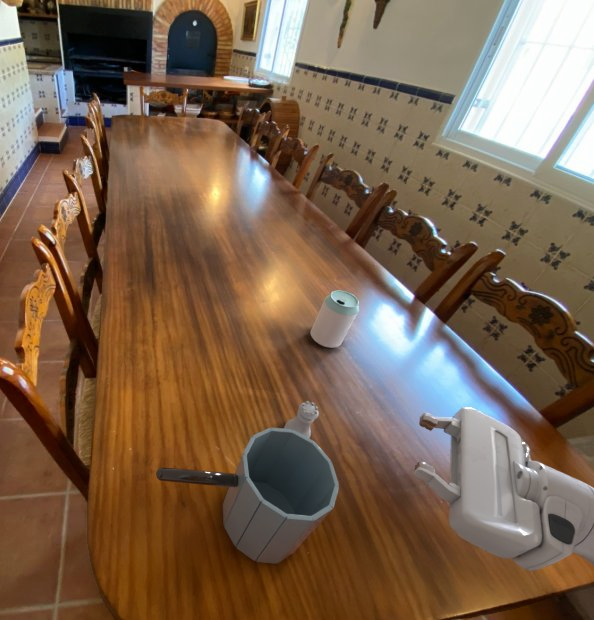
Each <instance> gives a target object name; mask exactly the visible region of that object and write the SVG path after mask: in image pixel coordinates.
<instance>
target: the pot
mask: <svg viewBox="0 0 594 620" xmlns="http://www.w3.org/2000/svg"><path fill="white" fill-rule="evenodd" d="M155 475H156V478H157V480H158V481H161V482H169V483H170V482H171V483H180V484H189V485H203V486H211V487H212V486H215V487H225V488H228V489H227V491H226V495H225V497H224V499H223V502H222V520H223V527H224V529H225V532H226V533H227V535H228V537H229V539H230V540H231V542H232V545H233V546H234V547H235V548H236V549H237V550H238V551H239V552H241V553H243V554H244V555H245V556H246V557H248V558H249V559H251V560H252V561H253V562H256V563H262V564H263V563H264V564H275V565H276V564H280V563H281V562H283V561H284V560H285V559H287V558H289V557H290V556H291V555H293V554H294V553H295V552H296V551H297V550H298V549H299V548H300V547H301V546H302V544H303V543H304V542H305V541H306V540H307V538H309V536H310V535H311V534H312V533H313V532H314V530H315V529H316V528H318V526H319V525H320V524H321V523H322V522H323V521H324V519H325V518H326V517H327V516H328V515H329V514H330V513H331V511H333V509H334V508H335V504H336V501H337V497H338V493H339V489H340V483H339V480H338V476H337V474H336V470H335V467H334V463H333V462H332V460H331V459H330V458H329V457H328V454H326V452H324V450H323V449H322V448H321V447H320V446H319V445H318V444H317V442H316V441H314V440H313V439H311V438H307V437H305V436H304V435H302V434H300V433H298V432H296V431H294V430H293V431H292V429H284V428H282V427H281V428H280V427H268V428H266V429H264V430H262V431H260V432H257V433H255V434H253V435H251V437H250V439H249V441H248V442H247V444H246V446H245V448H244V450H243V452H242V454H241V456H240V459H239V461H238V464H237V466H236V469H235V472H224V471H223V472H222V471H210V470H200V469H188V468H177V467H167V466H166V467H165V466H159V468H158V469H157V470H156V472H155Z"/></svg>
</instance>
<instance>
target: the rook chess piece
mask: <svg viewBox="0 0 594 620" xmlns="http://www.w3.org/2000/svg"><path fill="white" fill-rule="evenodd" d="M315 404H316V403H314V402H313V401H311V402H310V401H309V400H306V401H304V402H301V403H300V404H299V406H298V410H297V412H296V416H295V417H293V418H291V419H289V420H288V421H287V422H286V423H285V425H284V427H283V429H292V431H293V430H294V431H296V432H298V433H300V434H302V435H304V436H305V437H307V438H309V439H311V435H312V430H311V424H313V423H314V421H315V420H316V419H318V418H319V414H320V413H319V412H320V411H319V406H318V405H315Z"/></svg>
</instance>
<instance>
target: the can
mask: <svg viewBox="0 0 594 620" xmlns="http://www.w3.org/2000/svg"><path fill="white" fill-rule="evenodd" d="M359 312H360V301H359V298H358V297H357V296H355V294H353V293H351V292H349V291H346V290H333V291H331V293H330V294H329V295H327V296H326V297H325V298H324V300H323V302H322V305H321V307H320V309H319V311H318V313H317V315H316V319H315V321H314V323H313V325H312V327H311V329H310V336H311V338H312V339H313V341H314V342H316V343H317V344H318V345H320V346H322V347H325V348H330V349H331V348H338V347H340V346H341V345H342V344H343V342H344V340H345V338H346V336H347V334H348V332H349V331H350V330H351V329H350V328H351V327H352V325H353V323H354V321H355V319H356V318H357V315H358V314H359Z"/></svg>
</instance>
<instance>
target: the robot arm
mask: <svg viewBox="0 0 594 620" xmlns="http://www.w3.org/2000/svg"><path fill="white" fill-rule="evenodd" d="M418 424H419V426H420V427H422V428H425V429H426V430H428V431H429V432H432V431H433V430H434V429H440V430H443V433H445V434H447V435H449V436H450V450H449V451H450V453H449V455H450V456H449V457H450V458H449V483H447V482H446V480H444V479H443V478H441V476H440V475H438V474H437V473H436V467H434V466H432V465H430V464H427V462H424V461H418V462H417V463H416V464H415V465H414V470H413V476H414V477H415V478H417V479H419V480H421V481H423V482H425V483H427V485H428V486H429V488H430V489H432V491H433V492H434V493H435V494H436V495H437V496H438V497H439V498H440V499H441V500H444V501H445V502H447V503H448V506H449V507H448V525H449V526H450V528H451V530H453V531H454V533H455V534H456V535H457V536H458V537H459V538H461V539H462V540H464V541H465V542H467V543H469V544H471V545H473V546H475V547H477V548H478V549H480V550H482V551H485V552H487V553H489V554H490V555H493V556H495V557H498V558H500V559H503V560H512V561H513V562H514V563H515V564H516V565H517V566H518V567H520V568H522V569H523V570H526V571H528V572H534V571H537V570H541V569H544V568H546V567H549V566H552V565H554V564H556V563H558V562H560V561H562V560H565V558H567V557H569V556H571V555H572V554H574V555H577V556H579V557H580V558H582V559H584V560H585V561H586V562H587V563H589V564H590V565H591V566H593V567H594V487H593V486H591V485H590V484H588V483H586V482H584V481H581V480H579V479H578V478H575V477H573V476H571V475H569V474H566V473H564V472H562V471H560V470H557V469H555V468H552V467H551V466H548V465H546V464H544V463H542V462H540V461H537V460H532V456H531V447H530V444H529V443H527V442H526V441H524V439H523V438H522V437H521V435H520V434H519V433H518V432H517V431H516V430H515V429H513V428H511V427H510V426H509V425H507V424H505V423H504V422H502V421H500V420H498V419H497V418H495V417H493V416H491V415H488V414H486V413H485V412H482V411H480V410H478V409H476V408H473V407H469V406H468V407H467V406H465V407H464V406H463V407H461V408H460V409H458V410H457V412H455V414H453V416H452V417H449V416H448V417H444V416H435V415H433V414H431V413H428V412H423V413H422V414H421V415H420V416H419V421H418Z"/></svg>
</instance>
